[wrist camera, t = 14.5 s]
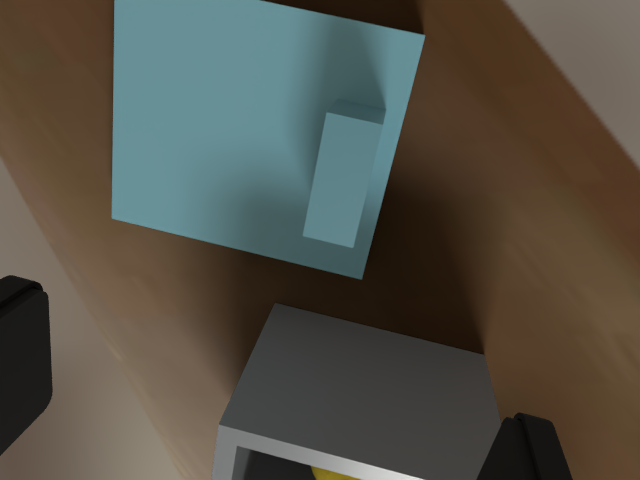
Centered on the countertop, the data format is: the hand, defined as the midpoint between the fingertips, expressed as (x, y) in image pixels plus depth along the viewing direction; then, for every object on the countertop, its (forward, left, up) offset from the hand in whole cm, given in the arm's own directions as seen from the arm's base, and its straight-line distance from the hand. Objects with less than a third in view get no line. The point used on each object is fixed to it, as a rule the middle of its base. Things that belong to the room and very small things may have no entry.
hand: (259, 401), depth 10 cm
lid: (+6, 0, -20) cm, 21 cm away
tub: (-4, +17, -20) cm, 27 cm away
